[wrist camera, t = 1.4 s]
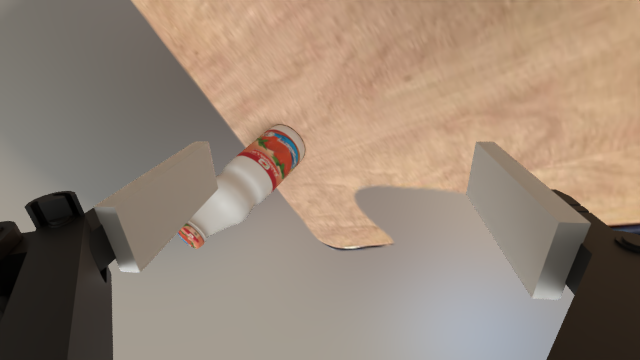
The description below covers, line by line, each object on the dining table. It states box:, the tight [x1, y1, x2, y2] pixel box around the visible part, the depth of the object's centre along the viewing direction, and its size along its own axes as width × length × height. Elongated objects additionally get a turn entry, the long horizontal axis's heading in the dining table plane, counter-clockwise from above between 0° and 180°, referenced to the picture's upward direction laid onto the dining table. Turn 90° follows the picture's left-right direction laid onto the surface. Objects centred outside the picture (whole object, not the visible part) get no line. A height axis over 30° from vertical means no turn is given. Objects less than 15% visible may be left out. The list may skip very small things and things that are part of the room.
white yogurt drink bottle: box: [177, 125, 305, 249], centre depth 55 cm, size 9×9×28 cm
